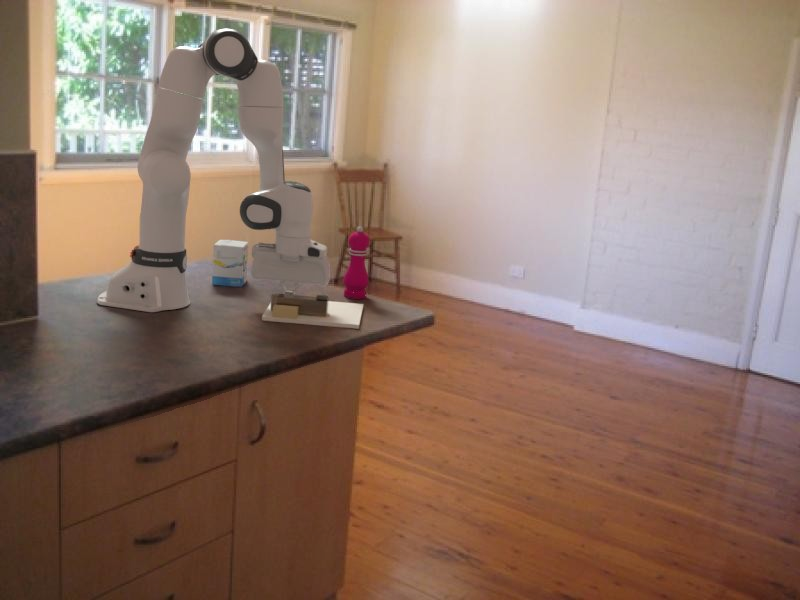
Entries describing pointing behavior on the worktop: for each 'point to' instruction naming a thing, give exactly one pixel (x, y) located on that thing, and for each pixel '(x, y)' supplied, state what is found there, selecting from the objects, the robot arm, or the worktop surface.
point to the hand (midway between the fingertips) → (289, 298)
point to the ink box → (230, 263)
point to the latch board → (336, 316)
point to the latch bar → (303, 303)
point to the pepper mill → (357, 266)
